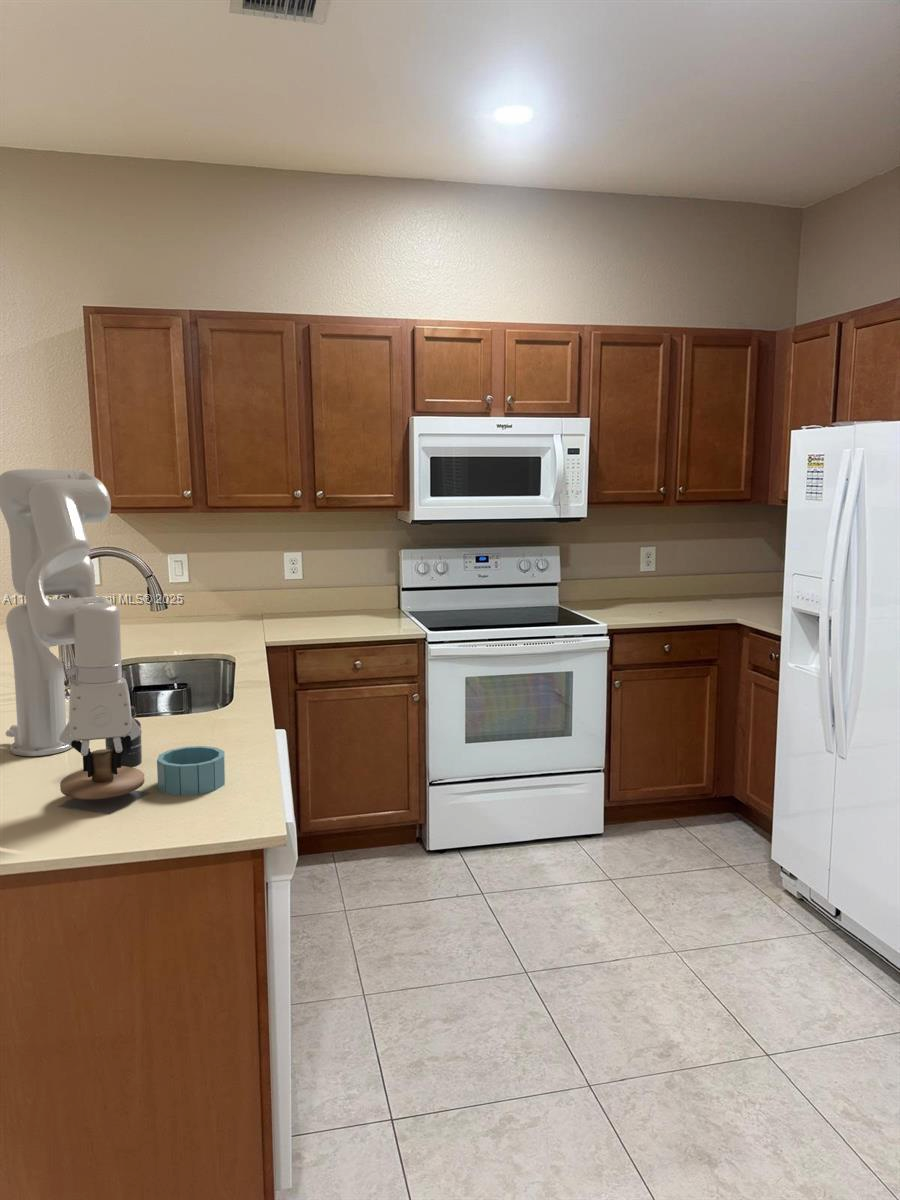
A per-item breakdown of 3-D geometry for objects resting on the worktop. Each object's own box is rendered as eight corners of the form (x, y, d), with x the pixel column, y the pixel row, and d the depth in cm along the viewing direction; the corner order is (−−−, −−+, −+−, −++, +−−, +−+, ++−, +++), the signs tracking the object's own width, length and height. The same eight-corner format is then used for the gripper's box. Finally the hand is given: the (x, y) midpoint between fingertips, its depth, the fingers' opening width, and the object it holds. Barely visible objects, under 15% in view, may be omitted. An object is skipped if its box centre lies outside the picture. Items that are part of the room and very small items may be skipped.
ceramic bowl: (145, 793, 159) (143, 761, 158) (183, 773, 170) (182, 743, 169) (201, 800, 155) (200, 768, 154) (237, 779, 166) (236, 749, 166)
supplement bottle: (141, 769, 172) (139, 711, 170) (104, 772, 170) (102, 713, 168) (143, 759, 178) (141, 702, 177) (108, 761, 176) (105, 704, 175)
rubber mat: (57, 809, 150) (57, 806, 150) (100, 788, 161) (100, 785, 161) (109, 816, 147) (109, 813, 147) (150, 795, 158) (150, 792, 158)
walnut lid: (42, 792, 150) (40, 759, 149) (97, 767, 163) (96, 736, 162) (109, 803, 146) (107, 770, 145) (160, 776, 159) (159, 745, 158)
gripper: (46, 681, 145) (50, 786, 147) (149, 675, 151) (152, 775, 154) (48, 672, 151) (52, 771, 154) (147, 666, 158) (150, 761, 160)
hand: (102, 772), depth 154 cm, fingers closed on walnut lid, 3 cm apart
